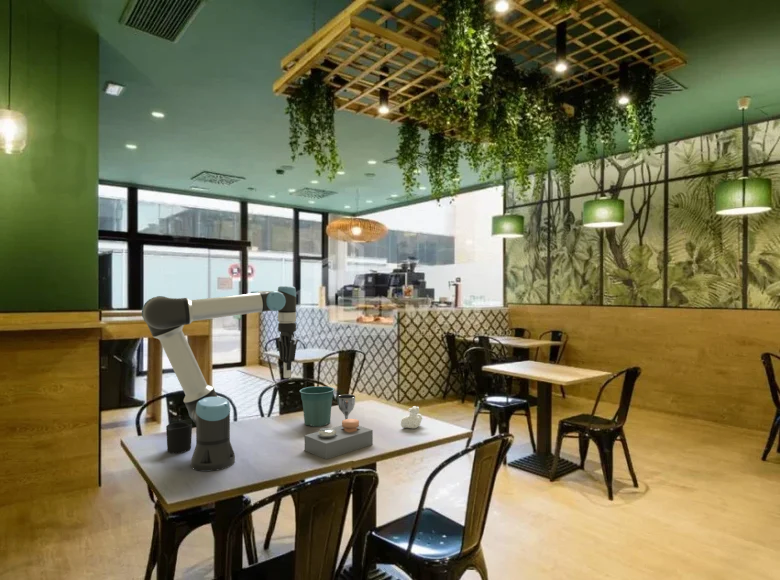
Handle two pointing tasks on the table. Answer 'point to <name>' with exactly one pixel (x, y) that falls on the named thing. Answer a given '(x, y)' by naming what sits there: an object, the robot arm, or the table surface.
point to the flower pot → (317, 405)
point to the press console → (338, 442)
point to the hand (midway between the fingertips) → (287, 377)
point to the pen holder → (179, 437)
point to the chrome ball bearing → (327, 433)
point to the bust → (412, 418)
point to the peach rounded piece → (350, 425)
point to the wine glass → (346, 404)
